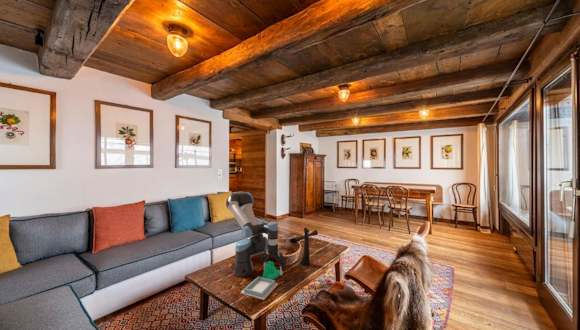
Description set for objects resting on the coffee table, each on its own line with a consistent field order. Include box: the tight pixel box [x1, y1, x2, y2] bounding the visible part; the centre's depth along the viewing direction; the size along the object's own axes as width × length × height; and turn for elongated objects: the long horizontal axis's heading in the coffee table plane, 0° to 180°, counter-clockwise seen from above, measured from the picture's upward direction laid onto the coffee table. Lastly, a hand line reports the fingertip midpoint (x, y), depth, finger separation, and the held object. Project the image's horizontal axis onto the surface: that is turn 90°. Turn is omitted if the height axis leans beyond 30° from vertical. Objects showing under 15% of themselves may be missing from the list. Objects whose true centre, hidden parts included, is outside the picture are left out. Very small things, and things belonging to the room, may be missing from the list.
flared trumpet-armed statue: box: [289, 227, 319, 267], centre depth 185 cm, size 31×10×30 cm, turn 135°
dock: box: [240, 275, 279, 301], centre depth 149 cm, size 17×18×3 cm
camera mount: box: [262, 260, 281, 280], centre depth 166 cm, size 12×8×10 cm, turn 139°
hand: (273, 272), depth 166 cm, fingers open, 13 cm apart
